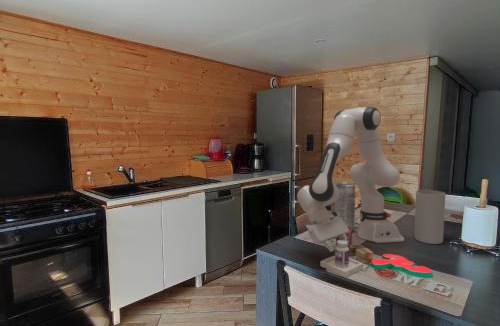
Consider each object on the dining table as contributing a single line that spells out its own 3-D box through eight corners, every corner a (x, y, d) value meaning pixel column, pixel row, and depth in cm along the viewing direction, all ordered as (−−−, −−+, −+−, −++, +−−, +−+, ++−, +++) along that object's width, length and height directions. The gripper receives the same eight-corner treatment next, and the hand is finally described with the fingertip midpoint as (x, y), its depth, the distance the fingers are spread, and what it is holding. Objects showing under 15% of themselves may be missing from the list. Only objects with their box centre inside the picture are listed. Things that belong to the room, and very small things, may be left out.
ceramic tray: (338, 258, 124) (338, 253, 124) (363, 268, 114) (363, 263, 114) (320, 266, 117) (320, 261, 117) (345, 277, 107) (345, 272, 107)
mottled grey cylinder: (355, 229, 162) (356, 183, 159) (335, 228, 164) (336, 183, 161) (352, 225, 170) (353, 181, 168) (334, 224, 172) (335, 180, 170)
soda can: (341, 252, 131) (341, 227, 130) (333, 246, 137) (333, 222, 136) (354, 250, 132) (355, 225, 131) (345, 245, 139) (346, 221, 138)
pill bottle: (345, 261, 118) (346, 239, 117) (350, 267, 113) (351, 244, 112) (333, 261, 118) (333, 239, 117) (337, 267, 113) (337, 244, 112)
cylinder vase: (414, 242, 142) (416, 193, 140) (413, 234, 153) (415, 189, 151) (444, 246, 136) (447, 195, 134) (441, 238, 147) (443, 191, 145)
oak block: (365, 258, 124) (366, 247, 123) (372, 263, 119) (373, 252, 118) (355, 259, 123) (355, 248, 122) (362, 265, 118) (362, 253, 117)
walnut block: (362, 253, 129) (362, 245, 129) (364, 257, 125) (364, 248, 125) (349, 252, 130) (349, 244, 130) (350, 256, 126) (350, 247, 126)
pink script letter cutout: (368, 267, 116) (368, 262, 116) (386, 256, 126) (386, 251, 126) (421, 287, 101) (421, 280, 101) (437, 272, 111) (437, 267, 111)
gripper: (309, 219, 114) (328, 250, 107) (340, 211, 126) (359, 238, 119) (300, 227, 118) (319, 258, 111) (331, 219, 130) (349, 245, 123)
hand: (340, 248), depth 116 cm, fingers open, 8 cm apart
